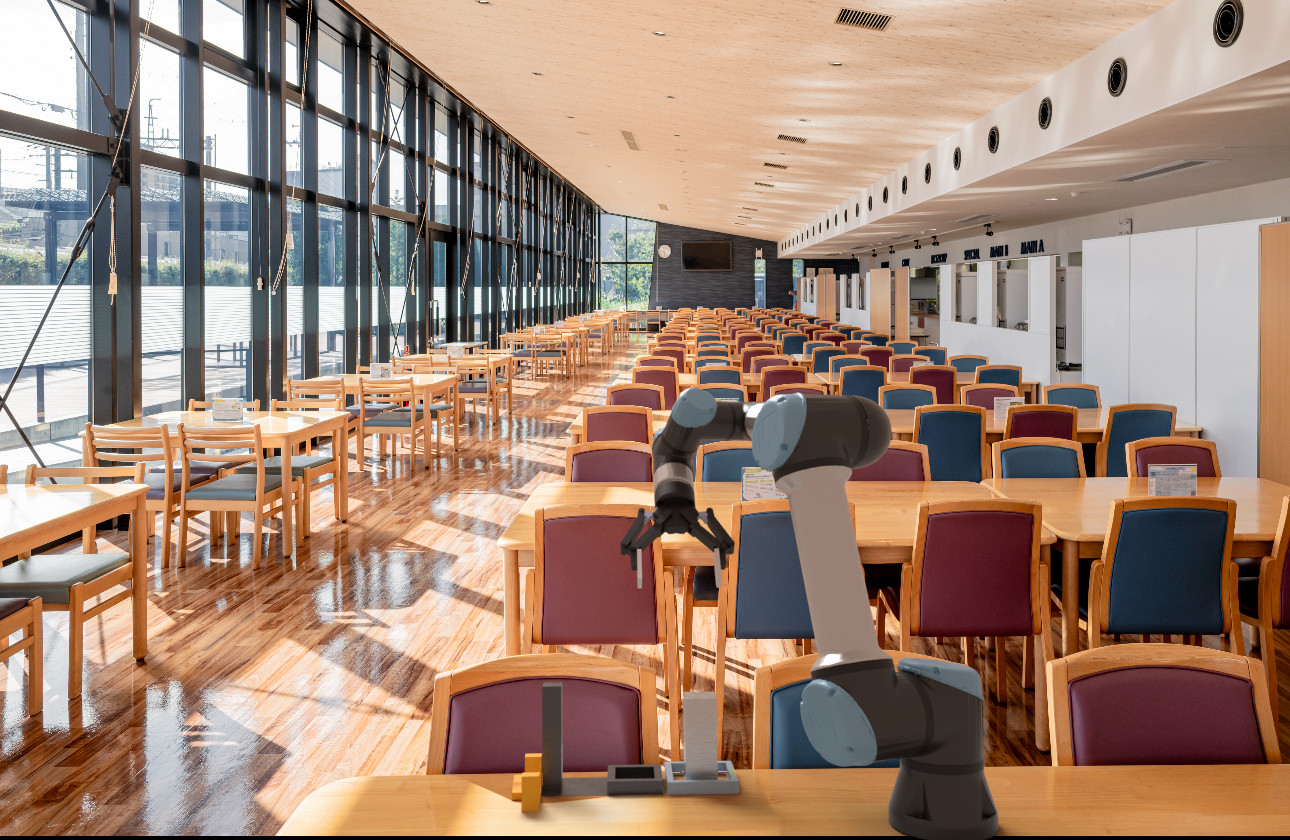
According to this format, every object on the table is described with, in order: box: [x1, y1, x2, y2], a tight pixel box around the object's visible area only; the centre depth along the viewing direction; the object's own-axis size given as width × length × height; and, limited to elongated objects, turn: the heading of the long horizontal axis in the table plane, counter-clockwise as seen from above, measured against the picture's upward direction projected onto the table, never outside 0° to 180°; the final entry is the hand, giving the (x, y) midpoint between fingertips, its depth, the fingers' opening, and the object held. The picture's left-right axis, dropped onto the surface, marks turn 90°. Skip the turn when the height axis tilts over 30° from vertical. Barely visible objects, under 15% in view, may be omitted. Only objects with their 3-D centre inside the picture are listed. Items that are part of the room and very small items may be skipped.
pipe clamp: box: [511, 752, 542, 813], centre depth 155 cm, size 12×4×6 cm, turn 4°
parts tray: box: [664, 760, 740, 796], centre depth 161 cm, size 11×11×3 cm
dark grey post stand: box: [541, 681, 665, 797], centre depth 160 cm, size 19×9×17 cm, turn 91°
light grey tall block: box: [682, 691, 719, 780], centre depth 162 cm, size 5×5×14 cm
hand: (679, 583), depth 173 cm, fingers open, 13 cm apart
